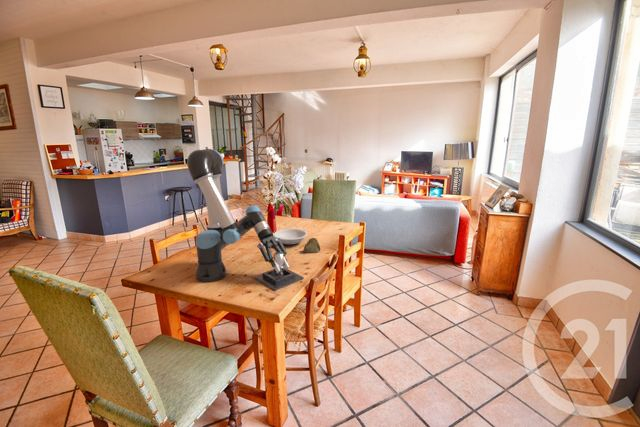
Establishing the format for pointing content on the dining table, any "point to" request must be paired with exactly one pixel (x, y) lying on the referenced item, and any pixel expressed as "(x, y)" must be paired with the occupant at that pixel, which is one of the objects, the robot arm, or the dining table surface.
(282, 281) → the socket plate
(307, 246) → the rock
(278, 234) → the soup bowl
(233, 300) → the dining table surface
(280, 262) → the steel roller
